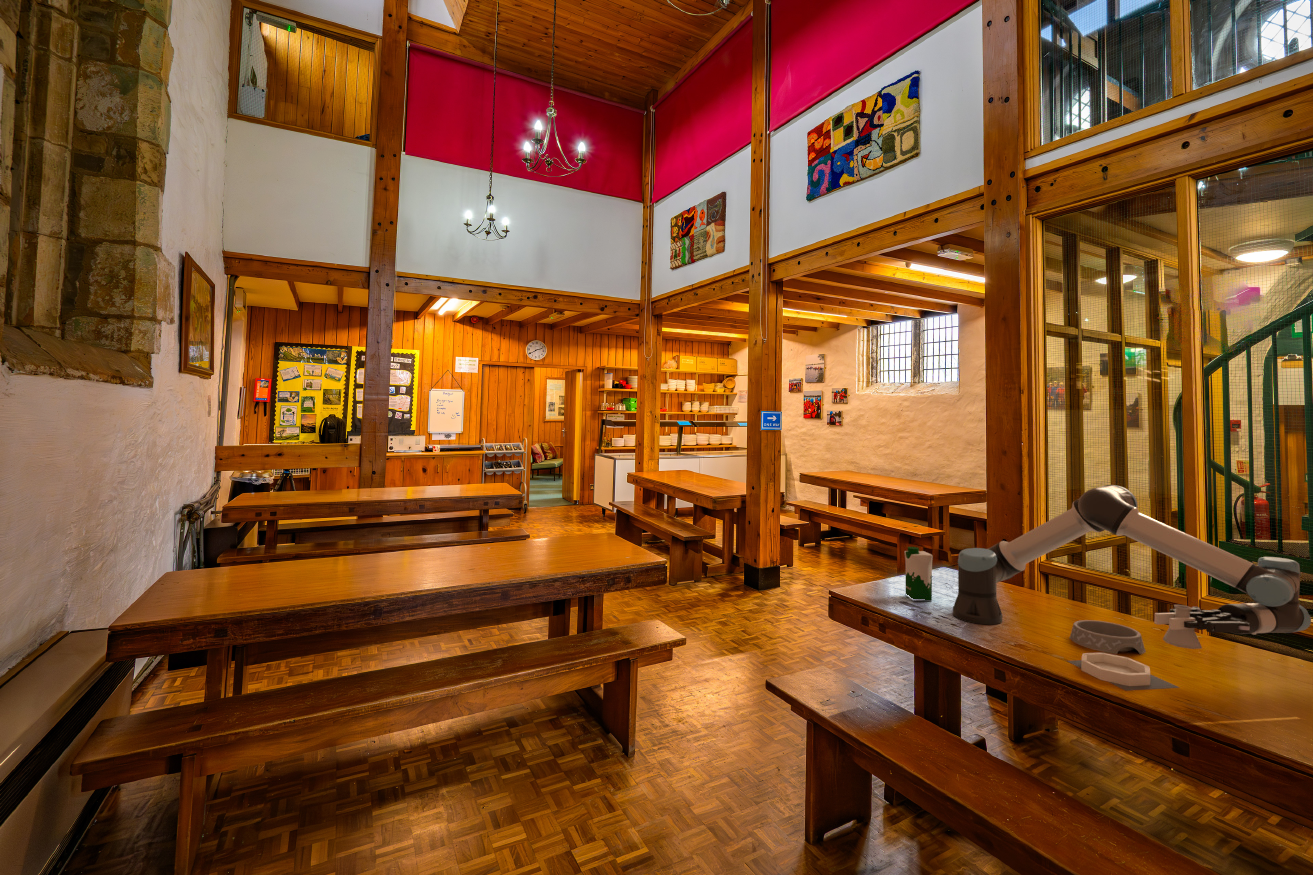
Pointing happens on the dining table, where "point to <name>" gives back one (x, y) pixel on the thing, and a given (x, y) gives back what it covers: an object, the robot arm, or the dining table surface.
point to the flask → (1182, 631)
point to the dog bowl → (1106, 636)
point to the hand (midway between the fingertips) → (1163, 621)
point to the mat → (1154, 684)
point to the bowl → (1115, 669)
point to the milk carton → (918, 573)
